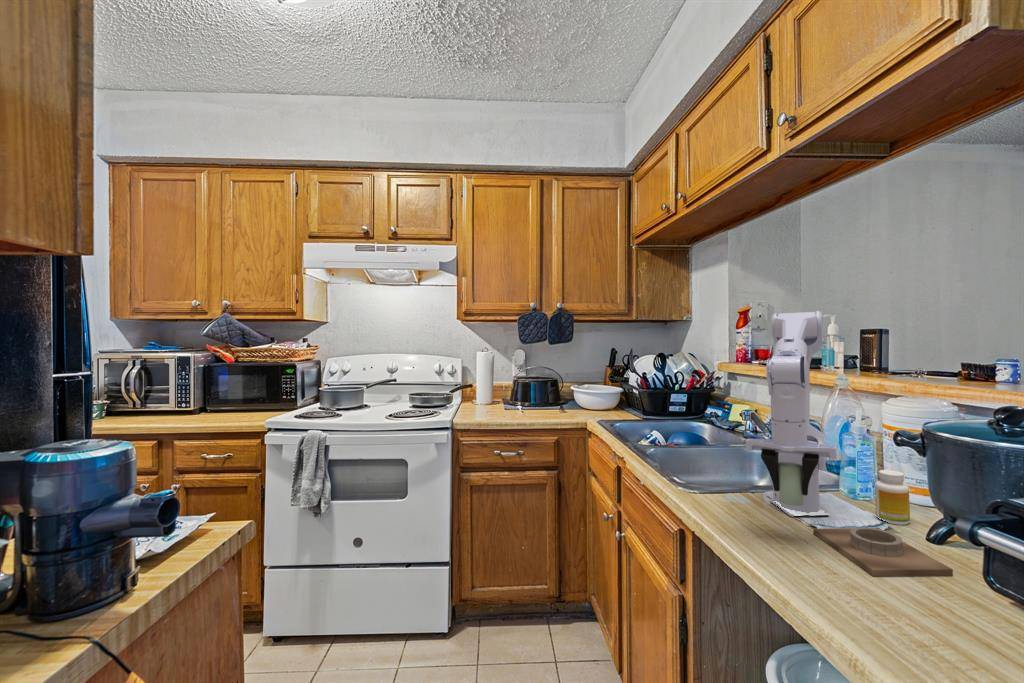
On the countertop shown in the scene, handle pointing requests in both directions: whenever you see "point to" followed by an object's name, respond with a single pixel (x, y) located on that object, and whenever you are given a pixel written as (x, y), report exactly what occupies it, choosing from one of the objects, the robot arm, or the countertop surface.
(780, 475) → the peg
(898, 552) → the holder
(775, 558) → the countertop surface
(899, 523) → the supplement bottle
